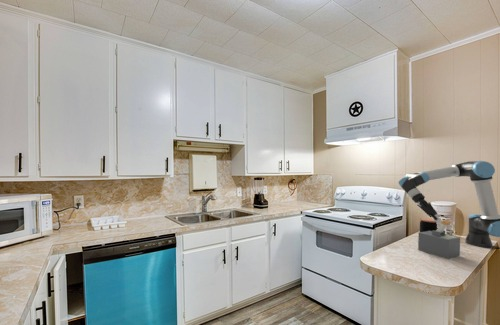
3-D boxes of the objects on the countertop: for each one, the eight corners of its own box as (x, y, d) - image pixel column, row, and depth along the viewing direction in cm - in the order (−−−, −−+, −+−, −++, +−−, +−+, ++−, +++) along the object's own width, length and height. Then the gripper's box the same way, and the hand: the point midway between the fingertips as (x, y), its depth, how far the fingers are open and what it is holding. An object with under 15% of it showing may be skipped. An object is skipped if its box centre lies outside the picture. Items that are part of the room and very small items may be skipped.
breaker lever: (438, 231, 167) (447, 219, 162) (441, 234, 165) (451, 222, 161) (433, 232, 164) (442, 220, 160) (437, 235, 163) (446, 222, 158)
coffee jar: (440, 245, 180) (440, 221, 180) (425, 245, 180) (426, 221, 180) (429, 241, 190) (430, 218, 191) (416, 240, 191) (416, 217, 191)
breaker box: (429, 247, 175) (429, 226, 176) (459, 255, 159) (460, 233, 159) (418, 249, 169) (418, 228, 169) (448, 259, 153) (449, 235, 153)
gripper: (417, 198, 183) (442, 226, 168) (407, 199, 177) (431, 227, 162) (425, 192, 178) (451, 220, 163) (414, 192, 172) (440, 221, 158)
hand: (441, 223), depth 163 cm, fingers closed
